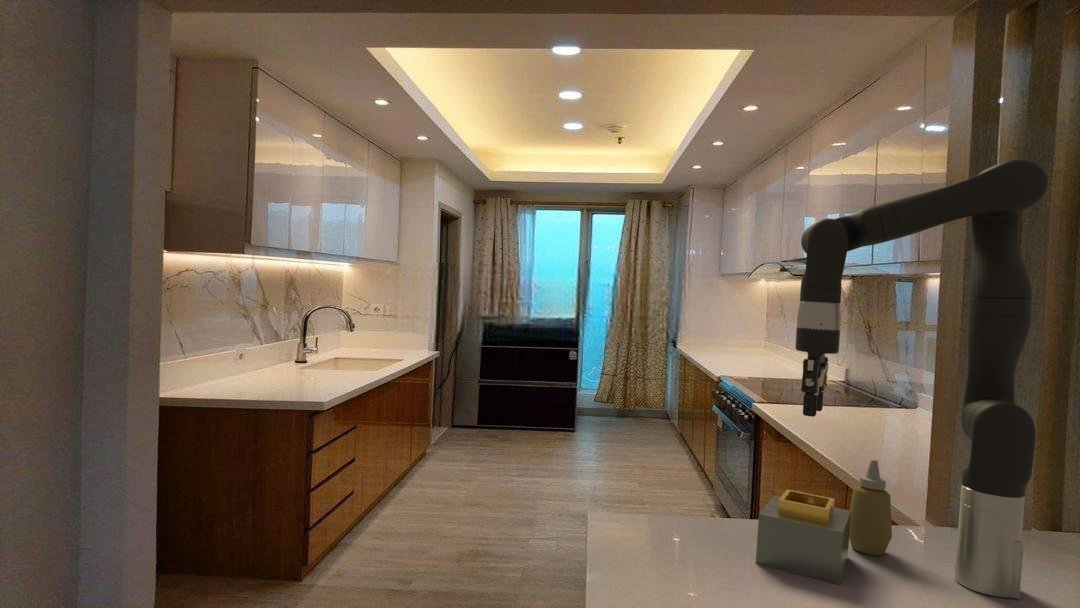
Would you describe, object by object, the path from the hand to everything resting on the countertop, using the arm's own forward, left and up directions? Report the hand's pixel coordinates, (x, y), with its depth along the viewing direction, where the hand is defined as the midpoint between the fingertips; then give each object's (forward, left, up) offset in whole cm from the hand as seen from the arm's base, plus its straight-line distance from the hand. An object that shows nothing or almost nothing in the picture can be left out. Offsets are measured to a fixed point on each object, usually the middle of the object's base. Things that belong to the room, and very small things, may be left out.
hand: (812, 413), depth 120 cm
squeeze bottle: (-10, -14, -28) cm, 33 cm away
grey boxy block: (0, 0, -28) cm, 28 cm away
